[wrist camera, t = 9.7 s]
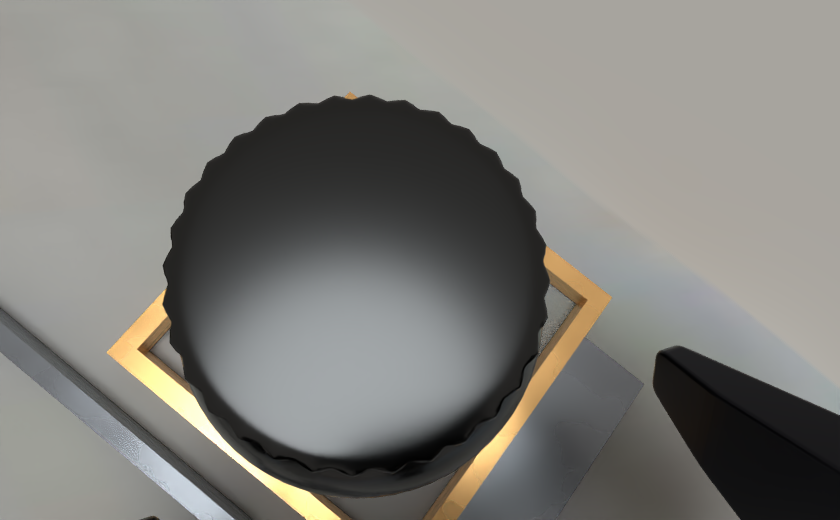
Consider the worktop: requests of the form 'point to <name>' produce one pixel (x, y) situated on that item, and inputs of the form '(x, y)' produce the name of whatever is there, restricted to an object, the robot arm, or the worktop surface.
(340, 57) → the worktop surface
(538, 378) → the silver gold metal frame
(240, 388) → the supplement bottle
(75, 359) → the worktop surface
